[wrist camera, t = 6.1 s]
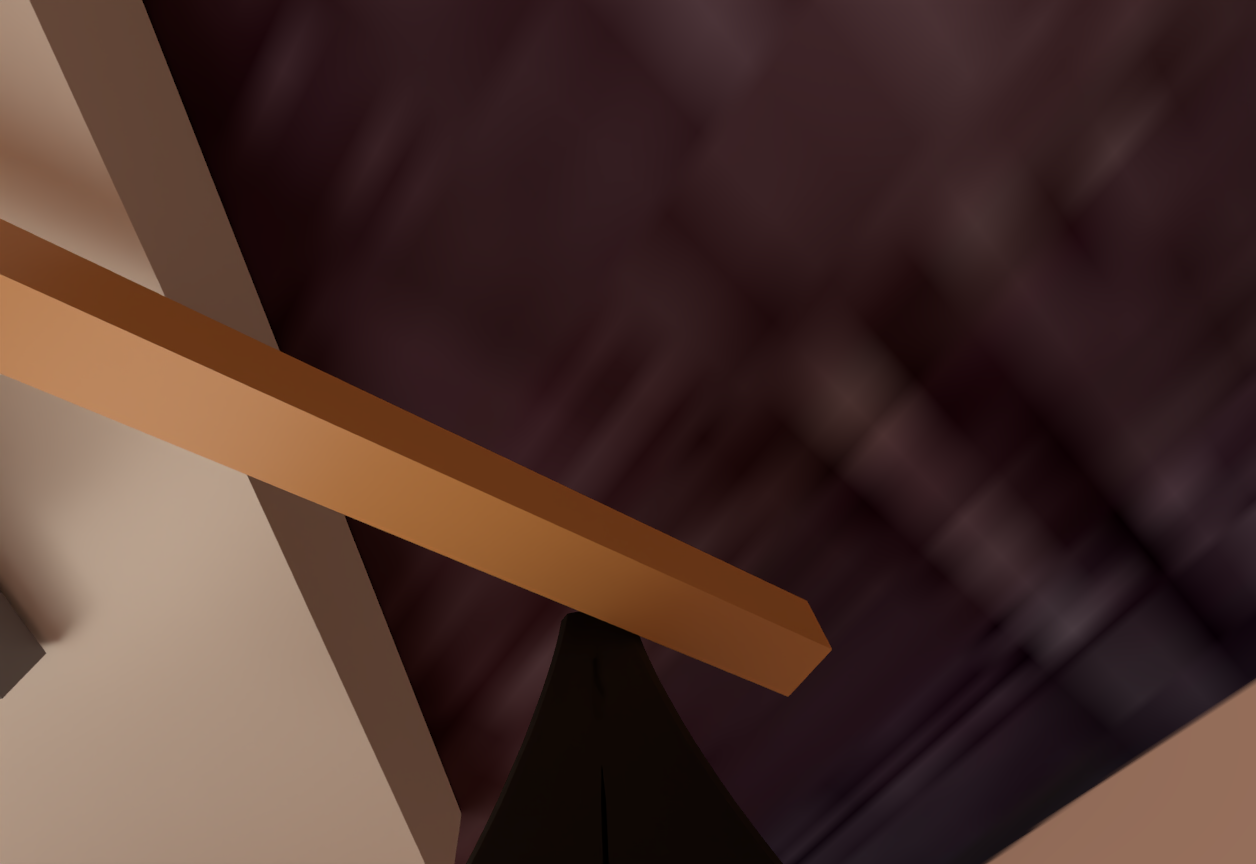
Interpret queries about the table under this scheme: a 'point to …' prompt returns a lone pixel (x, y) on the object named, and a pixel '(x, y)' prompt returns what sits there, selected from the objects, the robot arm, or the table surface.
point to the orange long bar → (379, 463)
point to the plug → (15, 648)
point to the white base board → (175, 537)
